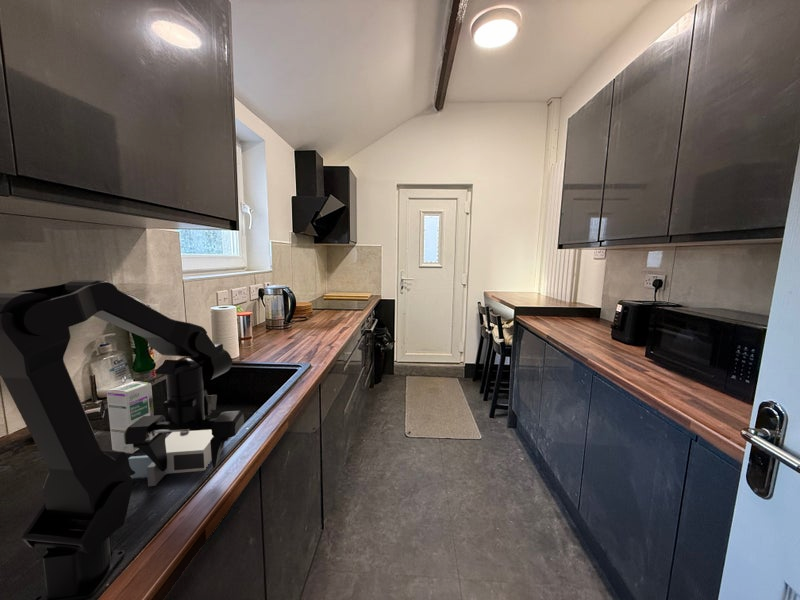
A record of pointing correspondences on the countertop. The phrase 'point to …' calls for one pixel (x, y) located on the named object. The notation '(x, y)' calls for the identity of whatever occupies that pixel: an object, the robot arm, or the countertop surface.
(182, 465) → the camera housing
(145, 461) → the grey l-shaped block
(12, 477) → the countertop surface
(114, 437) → the syrup box
